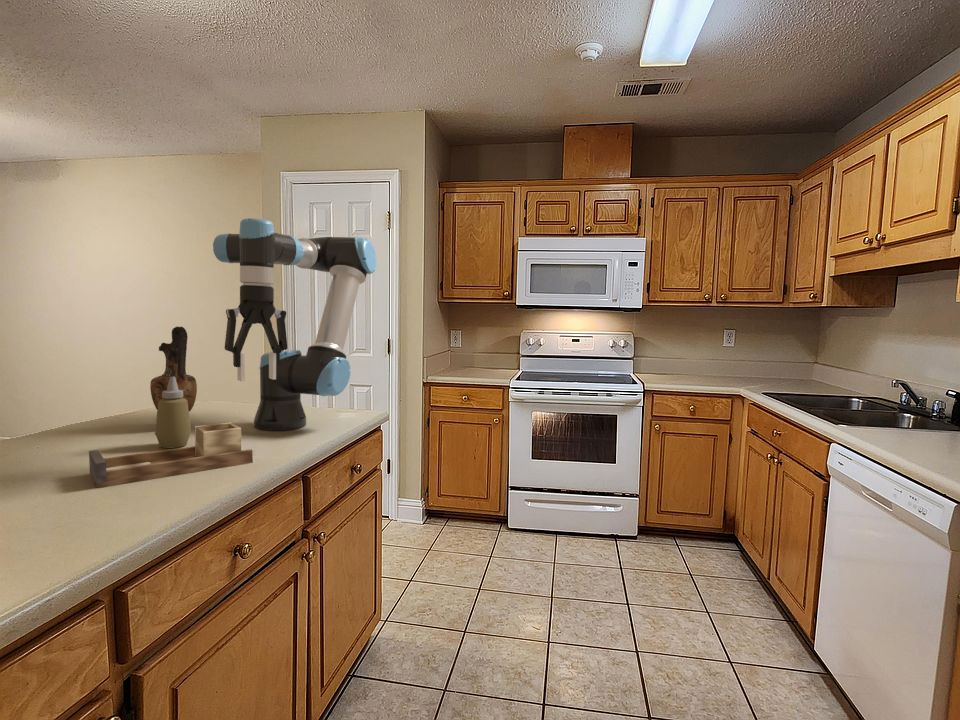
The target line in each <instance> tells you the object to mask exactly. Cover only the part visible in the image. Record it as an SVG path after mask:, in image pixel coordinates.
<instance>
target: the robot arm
mask: <svg viewBox="0 0 960 720" xmlns="http://www.w3.org/2000/svg"><path fill="white" fill-rule="evenodd" d="M274 227H275V226H274V223H273V222H272V221H271V220H267V219H262V218H252V217H251V218H243V219H242V220H241V221H240V223H239V233H220V234H218V235H216V237H214V240H213V242H212V251H213V253H214V256H215V258H216V259H217V260H218V261H220V262H221V263H228V264H239V283H241V284H242V285H240V286H239V303H238V304H239V305H238V306H237V307H235V308H227V309H225V314H226V319H227V323H226V332H225V340H224V351H227V352H230V353H232V355H233V356H232V358H233V359H232V360H233V361H232V363H233V364H232V366H233V367H234V368H237V370H236V371H237V381H239V382H245V380H246V379H245V378H246V377H245V375H246V374H245V371H246V370H245V367H246V366H245V362H246V361H245V353H242V350H243V348H244V346H245V342H246V339H247V338H248V335H249V332H250V330H251V328H252V326H253V324H254V325H256V324H261V326H262V327H263V330H264V332H265V335H266V337H267V340H268V342H269V345H270V349H271V352H266V353H263V354H262V355H261V357H260V361H259V370H260V371H259V372H260V373H259V380H260V382H259V385H260V387H259V393H260V398H259V399H260V400H259V404H258V407H257V410H256V414H255V416H254V419H253V427H254V428H255V429H257V430H262V431H289V430H290V431H291V430H297V429H301V428H304V427H305V426H306V425H307V415H306V413H305V410H304V409H305V408H304V407H303V403H302V399H301V395H312V396H320V397H330V396H331V397H335V396H338V395H340V394H341V393H343V392H344V390H345V389H346V387H347V385H348V384H349V381H350V377H351V371H350V370H351V364H350V362H349V361H348V359H347V354H346V353H345V352H344V347H345V344H346V340H347V336H348V332H349V328H350V324H351V319H352V315H353V312H354V308H355V303H356V300H357V295H358V291H359V287H360V285H361V284H363V283H365V282H366V278H367V275H371V274H373V273H375V271H376V268H377V254H376V250H375V247H374V245H373V242H372V241H371V240H370V238H367V237H359V236H355V237H354V236H353V237H351V236H350V237H347V236H346V237H345V236H324V237H323V236H322V237H311V238H310V237H309V238H305V237H303V238H299V239H298V238H295V237H293V236H291V235H288V234H281V233H278V232H275V228H274ZM274 265H283V266H296V267H297V268H300V269H307V270H313V271H318V272H324V273H329V274H330V276H331V277H332V279H331V283H330V287H329V289H328V292H327V293H328V294H327V297H326V302H325V305H324V308H323V312H322V316H321V320H320V324H319V326H318V327H319V328H318V330H317V335H316V338H315V342H314V343H313V344H311V345H309V346H308V348H307V351H306V355H303V354H302V351H301V350H300V349H298V350H297V349H296V350H293V349H292V350H288V348H289V347H288V339H287V338H288V337H287V330H286V327H287V326H286V317H287V311H286V310H280V309H276V307H275V304H274V297H275V296H274V295H275V293H274V292H275V291H274V290H275V289H274V287H273V286H272V285H274V284H275V282H274V281H275V278H274V277H275V273H274V270H275V269H274V267H275V266H274ZM239 314H240V315H241V317H242V318H243V319H242V322H241V327H240V329H239V332H238V335H237V337H235V336H236V335H235V334H236V326H237V318H238V316H239ZM273 315H274V317H275V319H276V331H277V332H276V333H277V336H276V334H275V332H274V331H275V330H274V328H273V324H272V321H271V318H272V317H273ZM235 338H236V341H235Z"/></svg>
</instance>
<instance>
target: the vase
mask: <svg viewBox="0 0 960 720" xmlns="http://www.w3.org/2000/svg"><path fill="white" fill-rule="evenodd" d="M188 338H189V337H188V332H187V330H186V328H185V327H183V326H175V327H173V328H172V330H171V342H170V343H166V342H162V343H161V344H160V346H158V351H159V352H163V354H164V358H165V370H164V372H163V374H160V375H158V376H156V377H153V378H152V379H151V380H150V382H149V383H150V385H149V387H150V388H149V389H150V395H151V399H152V402H153V405H154V408H155V409H156V410H157V408H158V402H159V401H160V400H161V399H164V398H162V392H163V391H166V390H167V387H168V383H169V379H170V377H175V378H176V382H177V386H178V389H179V390H182V391H183V397H182V398H184V399H186V400H187V401H188V409H189V413H190V412H191V411H192V409H193V408H194V407H195V406H194V405H195V402H196V400H197V392H198V384H197V380H196V378H195V377H194V376H193V375H190V374H187V371H186V366H187V365H186V363H187V349H188V348H187V347H188Z"/></svg>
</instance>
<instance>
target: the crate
mask: <svg viewBox="0 0 960 720" xmlns="http://www.w3.org/2000/svg"><path fill="white" fill-rule="evenodd" d="M194 446H195V455H196V456H197V457H201V456H208V455H215V454H222V453H229V452H235V451H242V428H241V427H240V426H238V425H236V424H234V423H233V422H222V423H215V424H214V423H213V424H204V425H195V426H194Z"/></svg>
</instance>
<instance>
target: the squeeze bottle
mask: <svg viewBox="0 0 960 720" xmlns="http://www.w3.org/2000/svg"><path fill="white" fill-rule="evenodd" d="M182 397H183V391H182V390H179V389H178V386H177V382H176V378H175V377H170V379H169V383H168V387H167V390H166V391H163V392H162V398H164V399H161V400H160V401H159V402H158V408H157V409H156V410H157V411H156V419H155V420H156V422H155V430H154V434H155V437H156V439H157V442H158V444H159V447H160V448H162V449H177V448H183V447H184V446H185V447H186V446H187V444H188V441H189V438H190V435H191V433H192V427H191V418H190V412H189V409H188V401H187V400H186V399H184V398H182Z"/></svg>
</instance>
